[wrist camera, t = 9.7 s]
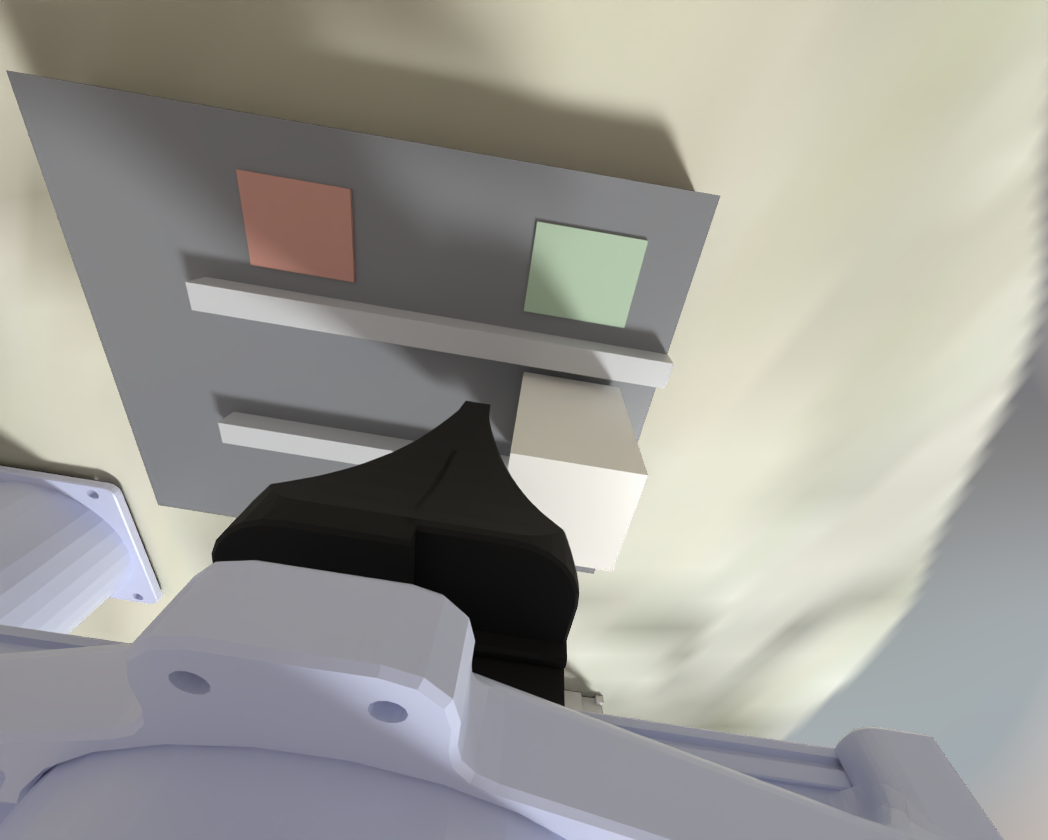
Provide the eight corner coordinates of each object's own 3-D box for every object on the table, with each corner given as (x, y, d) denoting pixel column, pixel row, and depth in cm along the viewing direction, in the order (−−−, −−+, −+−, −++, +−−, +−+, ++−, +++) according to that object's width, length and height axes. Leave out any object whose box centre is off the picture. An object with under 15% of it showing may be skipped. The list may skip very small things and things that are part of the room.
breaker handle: (510, 451, 14) (494, 552, 10) (523, 371, 13) (510, 453, 9) (596, 465, 15) (612, 571, 11) (618, 387, 13) (647, 475, 9)
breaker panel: (194, 475, 19) (141, 518, 16) (85, 87, 12) (-34, 61, 10) (589, 538, 19) (595, 589, 17) (696, 194, 12) (731, 196, 10)
